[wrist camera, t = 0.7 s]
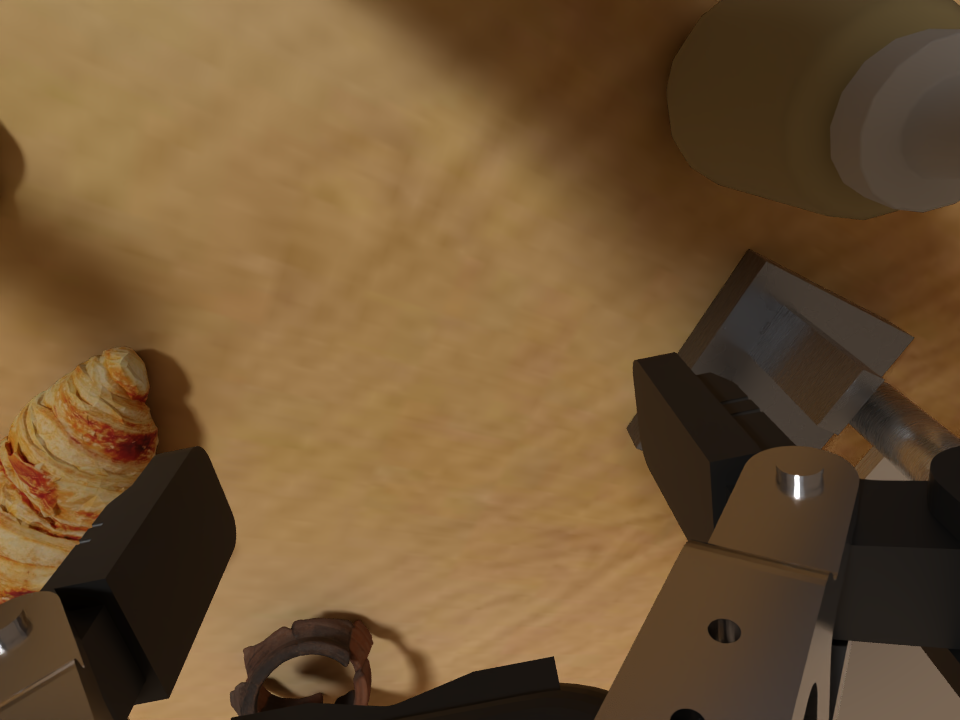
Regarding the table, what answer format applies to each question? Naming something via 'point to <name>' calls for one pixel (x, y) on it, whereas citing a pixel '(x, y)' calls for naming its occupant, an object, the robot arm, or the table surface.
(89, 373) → the croissant
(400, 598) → the table surface
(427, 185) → the table surface
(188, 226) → the table surface
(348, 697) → the brown headphones
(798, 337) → the frame
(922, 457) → the dark grey blocky piece
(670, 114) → the squeeze bottle
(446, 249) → the table surface
